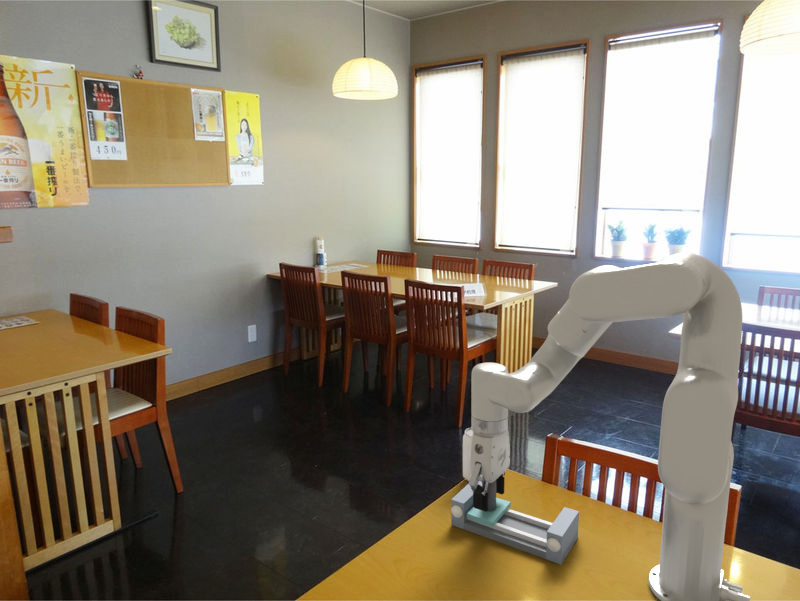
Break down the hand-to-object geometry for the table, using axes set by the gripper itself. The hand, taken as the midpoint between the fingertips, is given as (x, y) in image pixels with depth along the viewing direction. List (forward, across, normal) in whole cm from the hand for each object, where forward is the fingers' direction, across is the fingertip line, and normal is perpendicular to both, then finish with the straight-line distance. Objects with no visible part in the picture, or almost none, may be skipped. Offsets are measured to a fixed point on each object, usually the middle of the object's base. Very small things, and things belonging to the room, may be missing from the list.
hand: (489, 499), depth 121 cm
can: (+6, +16, +11) cm, 20 cm away
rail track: (+5, 0, -6) cm, 8 cm away
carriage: (+3, 0, 0) cm, 3 cm away
